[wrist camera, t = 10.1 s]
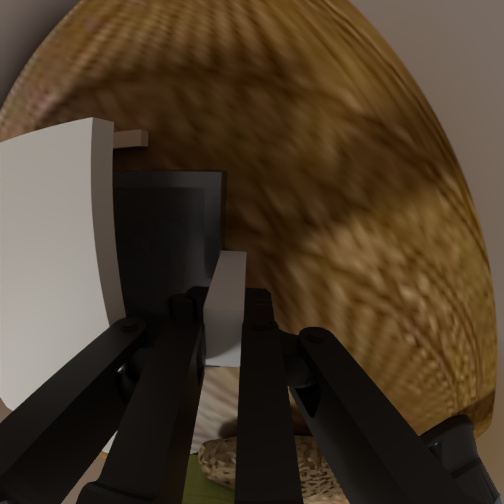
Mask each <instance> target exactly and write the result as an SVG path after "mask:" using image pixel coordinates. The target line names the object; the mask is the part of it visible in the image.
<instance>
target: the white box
mask: <svg viewBox="0 0 504 504" xmlns="http://www.w3.org/2000/svg"><path fill="white" fill-rule="evenodd" d="M113 131H114V122H112V121H108V120H103V119H99V118H94V117H91V118H86V119H81V120H76V121H72V122H67V123H63V124H59V125H55V126H51V127H47V128H44V129H40V130H37V131H33V132H30V133H27V134H24V135H21V136H18V137H15V138H12V139H9V140H6V141H3V142H1V143H0V397H1V399H2V400H3V402H4V403H5V405H6V406H7V407H8V408H9V409H11V410H13V411H14V410H15V409H16V408H17V407H18V406H19V405H20V404H21V403H22V402H24V401H25V400H26V399H27V398H28V397H29V396H30V395H31V394H32V393H33V392H35V391H36V390H37V389H38V388H39V387H40V386H41V385H42V384H43V383H45V382H46V381H47V380H48V379H49V378H50V377H51V376H52V375H54V374H55V373H56V372H57V371H58V370H59V369H60V368H62V367H63V366H64V365H65V364H66V363H67V362H69V361H70V360H71V359H72V358H73V357H74V356H75V355H77V354H78V353H79V352H80V351H81V350H83V349H84V348H85V347H86V346H87V345H88V344H90V343H91V342H92V341H93V340H94V339H96V338H97V337H98V336H99V335H100V334H102V333H103V332H104V331H105V330H106V329H108V328H109V327H110V326H111V325H112V324H114V323H115V322H116V321H118V320H120V319H122V318H125V317H126V314H125V308H124V303H123V297H122V290H121V284H120V277H119V269H118V261H117V252H116V242H115V230H114V215H113V189H112V155H113V149H122V148H134V147H148V132H149V131H146V130H143V129H138V130H128V131H119V132H113ZM122 368H123V367H121V368H120V369H119V370H118V371H120V370H121V369H122ZM116 433H117V431H116ZM116 433H115V434H114V435H113V437H112V438H111V439H110V440H109V442H108V443H107V444H106V446H105V447H104V448H103V450H102V451H104V452H107V453H109V451H110V448H111V445H112V443H113V440H114V438H115V435H116Z"/></svg>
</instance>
